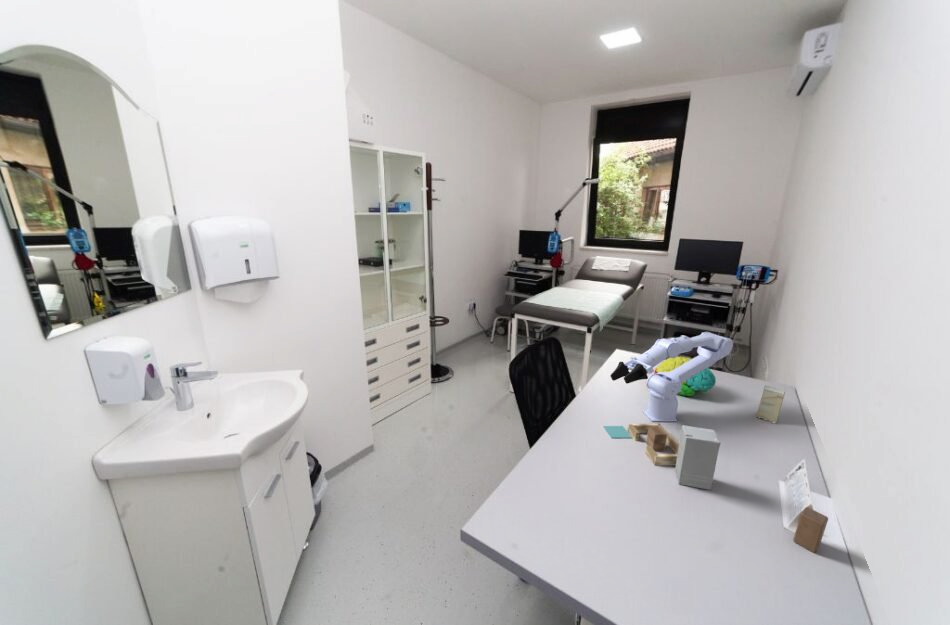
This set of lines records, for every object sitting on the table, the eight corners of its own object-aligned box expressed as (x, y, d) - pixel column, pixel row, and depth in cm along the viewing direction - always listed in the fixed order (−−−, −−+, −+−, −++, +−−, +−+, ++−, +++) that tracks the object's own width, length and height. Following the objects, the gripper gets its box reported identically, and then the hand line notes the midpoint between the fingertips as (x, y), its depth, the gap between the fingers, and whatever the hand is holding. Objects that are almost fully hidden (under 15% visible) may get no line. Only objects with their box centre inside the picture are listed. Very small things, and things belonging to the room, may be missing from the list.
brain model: (720, 393, 157) (724, 360, 154) (702, 406, 146) (707, 371, 143) (664, 377, 175) (667, 347, 172) (644, 387, 164) (647, 355, 161)
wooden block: (792, 541, 85) (800, 513, 83) (797, 533, 87) (806, 505, 85) (814, 554, 82) (824, 525, 80) (819, 545, 84) (829, 517, 82)
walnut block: (657, 443, 121) (660, 427, 120) (664, 450, 118) (667, 434, 116) (646, 443, 121) (648, 427, 120) (652, 450, 117) (655, 434, 116)
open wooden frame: (658, 431, 128) (659, 423, 128) (689, 464, 111) (691, 456, 110) (627, 431, 128) (628, 423, 127) (654, 465, 110) (656, 456, 110)
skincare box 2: (755, 417, 139) (763, 388, 136) (757, 413, 142) (764, 384, 139) (776, 424, 135) (784, 394, 132) (778, 419, 138) (785, 390, 135)
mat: (622, 426, 131) (622, 425, 131) (631, 438, 124) (631, 437, 124) (603, 426, 130) (603, 426, 130) (611, 438, 124) (611, 437, 124)
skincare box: (705, 476, 106) (715, 428, 102) (711, 493, 99) (722, 442, 96) (672, 469, 109) (681, 422, 105) (677, 485, 102) (686, 435, 98)
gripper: (630, 349, 136) (601, 367, 133) (657, 351, 122) (626, 371, 119) (638, 365, 137) (610, 384, 134) (666, 370, 122) (635, 390, 119)
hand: (618, 379), depth 126 cm, fingers open, 7 cm apart
